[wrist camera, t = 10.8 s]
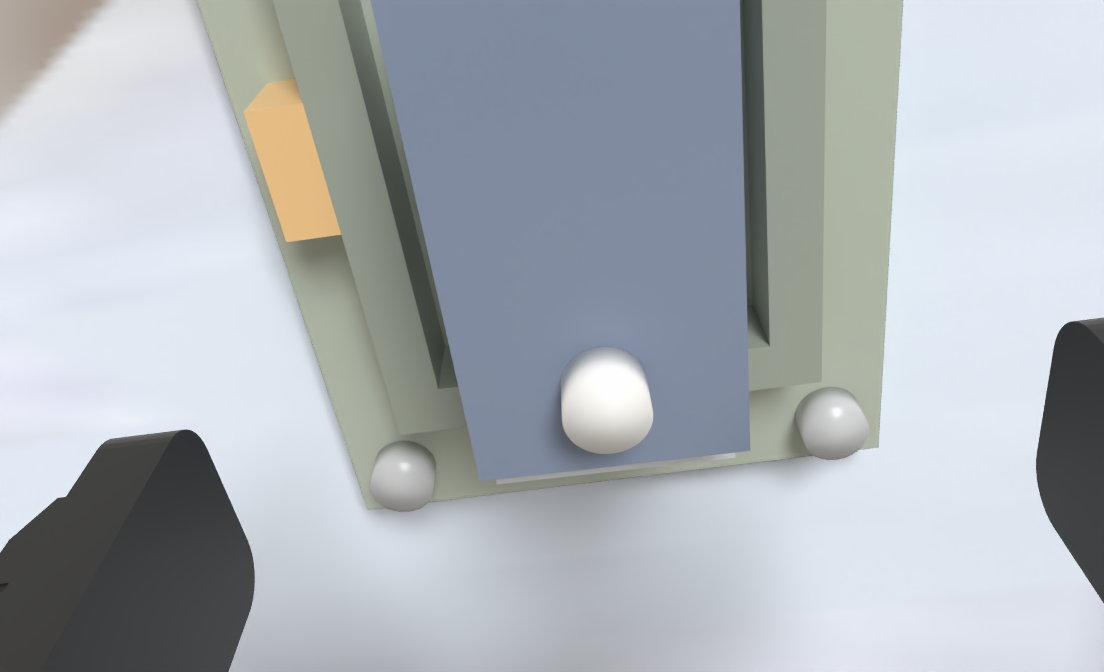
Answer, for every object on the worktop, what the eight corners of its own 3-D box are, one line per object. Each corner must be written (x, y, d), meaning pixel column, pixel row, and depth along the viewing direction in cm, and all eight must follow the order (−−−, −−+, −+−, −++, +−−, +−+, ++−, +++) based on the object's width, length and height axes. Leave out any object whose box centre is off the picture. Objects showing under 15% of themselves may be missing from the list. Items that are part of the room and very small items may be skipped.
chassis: (911, -624, 13) (991, -705, 10) (865, 421, 22) (902, 494, 20) (69, -461, 13) (-25, -506, 11) (373, 481, 23) (356, 558, 21)
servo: (662, -211, 14) (751, -192, 8) (694, 314, 19) (762, 552, 13) (408, -173, 14) (324, -128, 9) (504, 337, 19) (491, 580, 14)
